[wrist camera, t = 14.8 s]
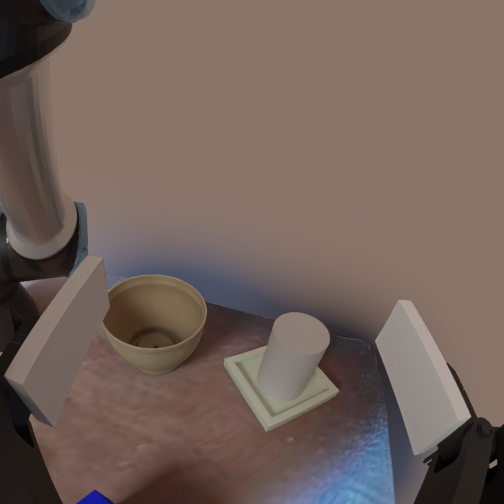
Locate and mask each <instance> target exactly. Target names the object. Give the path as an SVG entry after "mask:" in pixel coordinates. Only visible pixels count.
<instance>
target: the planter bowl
mask: <svg viewBox="0 0 504 504" xmlns="http://www.w3.org/2000/svg"><path fill="white" fill-rule="evenodd" d="M108 298H109V305H110V308H109V310H108V311H107V313H106V315H105V317H104V319H103V321H102V323H101V324H102V326H103V328H104V330H105V332H106V335H107V337H108V339H109V341H110V343H111V345H112V346H113V348H114V349H115V350H116V352H117V353H118V354H119V355H120V356H121V357H122V358H123V359H124V360H126V361H127V362H128V363H130V364H131V365H133V366H135V367H136V368H138V369H139V370H141V371H143V372H145V373H148V374H154V375H160V374H166V373H169V372H171V371H173V370H175V369H176V368H177V367H178V366H179V365H180V364H181V363H183V362H184V361H185V360H186V359H187V358H188V357H189V356H190V355H191V354H192V353H193V351H194V350H195V348H196V347H197V345H198V343H199V341H200V338H201V336H202V332H203V328H204V325H205V322H206V317H207V306H206V303H205V301H204V299H203V297H202V295H201V294H200V293H199V292H198V291H197V290H196V289H195V288H194V287H192V286H191V285H190V284H188V283H186V282H184V281H182V280H180V279H177V278H174V277H170V276H165V275H141V276H135V277H132V278H128V279H126V280H123V281H121V282H119V283H118V284H116V285H115V286H114V287H112V288H111V289H110V290H109V291H108ZM155 346H156V347H157V348H154V347H155Z"/></svg>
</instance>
